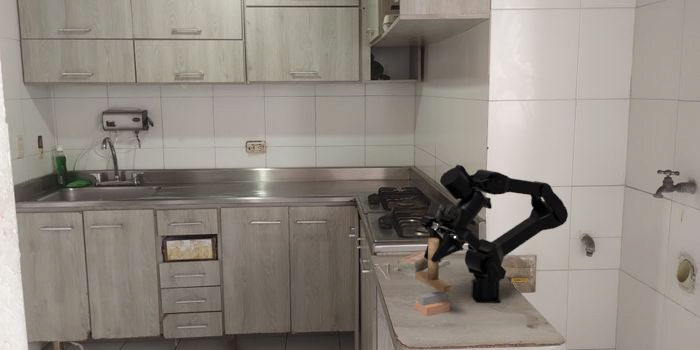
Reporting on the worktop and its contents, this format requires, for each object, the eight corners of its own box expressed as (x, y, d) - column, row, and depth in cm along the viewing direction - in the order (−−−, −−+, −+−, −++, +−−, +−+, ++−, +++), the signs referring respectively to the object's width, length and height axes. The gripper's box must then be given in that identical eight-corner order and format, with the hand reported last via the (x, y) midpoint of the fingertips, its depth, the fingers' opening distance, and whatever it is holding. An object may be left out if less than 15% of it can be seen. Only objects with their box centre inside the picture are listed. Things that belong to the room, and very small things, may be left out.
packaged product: (419, 263, 165) (391, 257, 171) (419, 280, 166) (391, 273, 172) (449, 250, 179) (422, 245, 185) (449, 265, 180) (422, 259, 186)
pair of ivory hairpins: (373, 266, 179) (374, 260, 178) (388, 266, 179) (389, 260, 179) (381, 289, 162) (382, 282, 161) (398, 288, 162) (398, 282, 162)
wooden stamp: (423, 277, 147) (423, 233, 145) (452, 291, 136) (453, 244, 134) (414, 278, 146) (415, 234, 144) (443, 293, 135) (444, 245, 133)
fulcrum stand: (437, 304, 146) (438, 289, 145) (449, 310, 141) (450, 295, 141) (414, 308, 142) (415, 293, 142) (426, 315, 138) (426, 300, 137)
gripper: (425, 184, 147) (389, 231, 144) (472, 196, 131) (432, 249, 128) (449, 211, 152) (414, 257, 149) (497, 226, 136) (459, 277, 132)
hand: (428, 259), depth 139 cm, fingers closed on wooden stamp, 3 cm apart
